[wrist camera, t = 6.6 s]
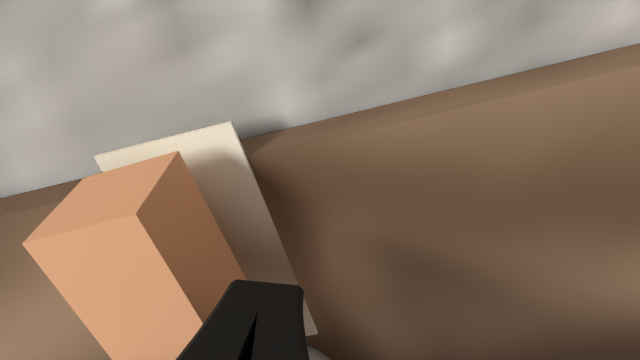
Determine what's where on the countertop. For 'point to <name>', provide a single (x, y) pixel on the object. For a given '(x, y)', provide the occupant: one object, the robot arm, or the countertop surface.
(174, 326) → the orange bar
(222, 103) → the countertop surface
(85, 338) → the lock board
